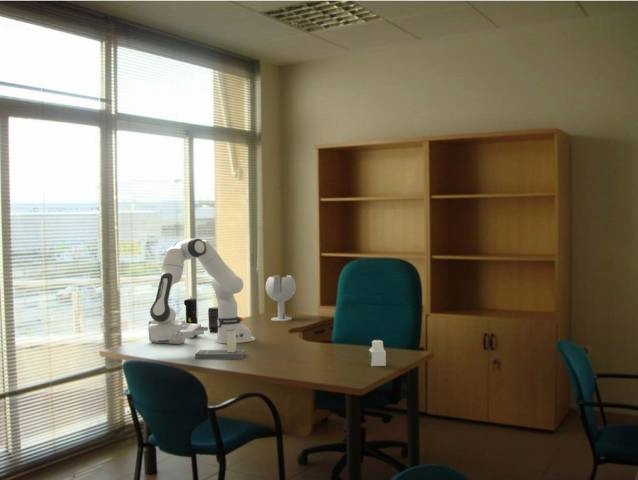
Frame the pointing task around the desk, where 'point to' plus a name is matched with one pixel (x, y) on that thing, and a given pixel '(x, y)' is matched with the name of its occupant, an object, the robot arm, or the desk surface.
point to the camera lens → (213, 319)
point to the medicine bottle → (377, 353)
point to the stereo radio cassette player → (168, 339)
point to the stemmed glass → (281, 293)
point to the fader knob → (231, 339)
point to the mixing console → (219, 354)
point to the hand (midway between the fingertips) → (205, 330)
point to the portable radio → (191, 311)
